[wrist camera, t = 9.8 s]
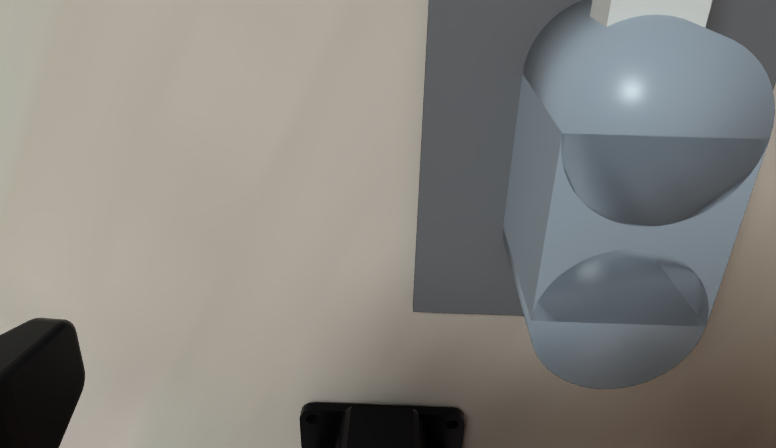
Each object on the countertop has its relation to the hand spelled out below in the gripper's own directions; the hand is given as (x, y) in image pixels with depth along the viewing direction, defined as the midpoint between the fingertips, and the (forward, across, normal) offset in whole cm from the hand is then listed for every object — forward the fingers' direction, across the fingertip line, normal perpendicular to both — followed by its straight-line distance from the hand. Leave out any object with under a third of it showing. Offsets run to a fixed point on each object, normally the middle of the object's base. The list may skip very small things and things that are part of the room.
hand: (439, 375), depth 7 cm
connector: (+12, -5, 0) cm, 13 cm away
